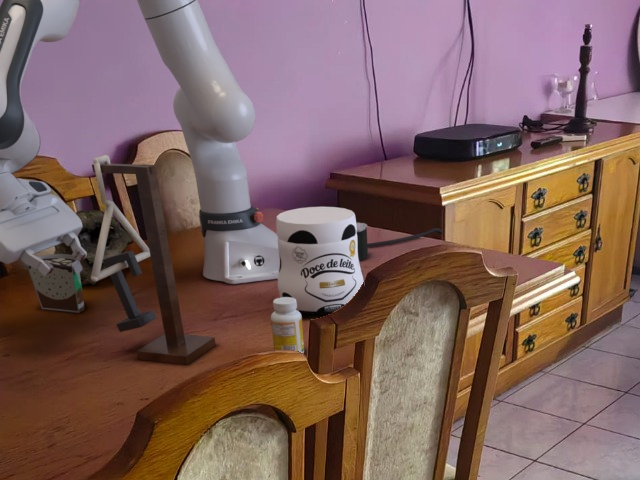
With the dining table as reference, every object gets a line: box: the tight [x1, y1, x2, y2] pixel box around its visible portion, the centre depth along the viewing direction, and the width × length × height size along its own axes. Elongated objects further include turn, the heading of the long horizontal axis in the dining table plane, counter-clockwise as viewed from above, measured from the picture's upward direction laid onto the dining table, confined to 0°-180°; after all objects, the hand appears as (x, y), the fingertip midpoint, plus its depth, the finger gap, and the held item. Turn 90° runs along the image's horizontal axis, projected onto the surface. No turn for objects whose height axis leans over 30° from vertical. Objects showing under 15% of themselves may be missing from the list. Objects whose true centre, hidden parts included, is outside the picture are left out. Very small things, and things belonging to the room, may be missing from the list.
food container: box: [24, 253, 85, 314], centre depth 172 cm, size 12×6×10 cm, turn 71°
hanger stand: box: [91, 154, 217, 366], centre depth 143 cm, size 14×17×32 cm
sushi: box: [356, 221, 369, 262], centre depth 201 cm, size 8×8×8 cm
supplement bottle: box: [270, 297, 305, 354], centre depth 147 cm, size 5×5×10 cm
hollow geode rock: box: [53, 209, 134, 286], centre depth 193 cm, size 28×13×15 cm
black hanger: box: [103, 250, 157, 333], centre depth 148 cm, size 7×5×12 cm
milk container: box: [275, 206, 365, 316], centre depth 166 cm, size 17×17×18 cm
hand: (67, 264), depth 149 cm, fingers open, 8 cm apart
